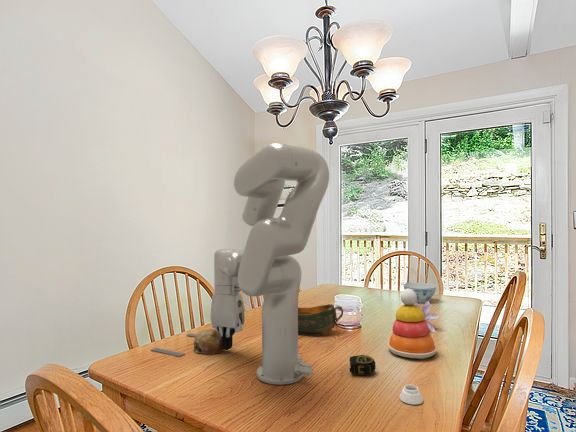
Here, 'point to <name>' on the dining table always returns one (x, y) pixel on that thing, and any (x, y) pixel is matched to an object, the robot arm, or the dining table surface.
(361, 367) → the tape measure
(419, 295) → the chinaware
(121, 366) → the dining table surface
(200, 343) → the bread roll
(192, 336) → the bay strip right
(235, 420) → the dining table surface
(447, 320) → the dining table surface
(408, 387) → the white jar
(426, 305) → the water lily
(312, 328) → the creamer
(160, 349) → the strip
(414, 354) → the stacking toy
